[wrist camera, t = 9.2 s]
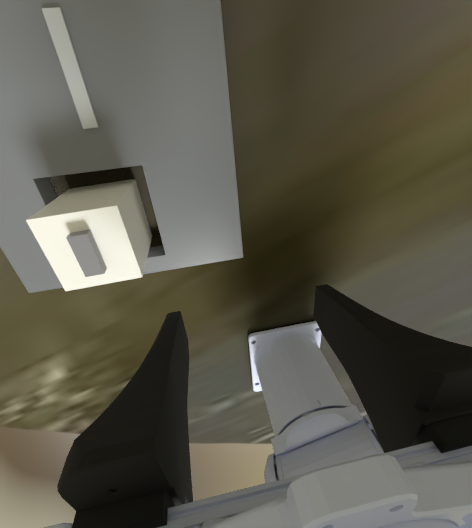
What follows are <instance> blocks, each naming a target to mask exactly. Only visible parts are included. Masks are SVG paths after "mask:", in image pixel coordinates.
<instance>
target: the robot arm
mask: <svg viewBox="0 0 472 528" xmlns="http://www.w3.org/2000/svg"><path fill="white" fill-rule="evenodd" d="M314 317H315V320H316V321H312V322H307V323H302V324H297V325H292V326H287V327H281V328H276V329H271V330H266V331H261V332H256V333H251V334H250V335H249V336H248V342H249V352H250V363H251V373H252V384H253V390H254V391H256V392H258V391H263V395H264V398H265V402H266V406H267V409H268V413H269V416H270V420H271V423H272V427H273V431H274V434H275V438H273V439H271V442H272V446H273V449H274V454H271V455H269V456H268V458H267V463H266V466H265V472H264V474H265V475H264V476H265V484H261V485H257V486H253V487H249V488H245V489H241V490H237V491H233V492H229V493H226V494H222V495H218V496H214V497H210V498H206V499H202V500H198V501H194V502H193V494H192V483H191V468H190V453H189V436H188V417H187V394H188V373H189V349H188V339H187V335H186V331H185V327H184V323H183V319H182V316H181V312H180V311H178V312H172V313H168V314H167V315H166V318H165V320H164V323H163V325H162V327H161V330H160V332H159V334H158V336H157V338H156V340H155V342H154V344H153V346H152V347H151V349H150V351H149V353H148V354H147V356H146V358H145V359H144V361H143V363H142V364H141V366H140V367H139V369H138V370H137V372H136V373H135V375H134V376H133V377H132V379H131V380H130V381H129V383H128V384H127V385H126V387H125V388H124V389H123V390H122V392H121V393H120V394H119V395H118V397H117V398H116V399H115V400H114V401H113V402H112V403H111V404H110V405H109V407H108V408H107V409H106V410H105V411H104V412H103V413H102V414H101V415H100V416H99V417H98V418H97V419H96V420H95V421H94V422H93V423H92V424H91V425H90V426H89V427H88V428H87V429H86V430H85V431H84V432H83V433H82V434H81V435H80V436H78V437H77V438H76V439H75V440H74V443H73V445H72V447H71V449H70V451H69V454H68V456H67V459H66V462H65V465H64V468H63V471H62V474H61V477H60V480H59V483H58V492H59V493H60V495H61V497H62V498H63V499H64V500H65V501H66V502H68V503H69V504H70V505H71V506H72V507H73V508H74V509H75V510H76V515H75V518H74V522H73V524H71V523H62V524H57V525H53V526H49V527H45V528H472V347H469V346H465V345H461V344H457V343H453V342H449V341H446V340H443V339H439V338H436V337H433V336H430V335H427V334H424V333H421V332H418V331H416V330H413V329H410V328H408V327H405V326H403V325H400V324H398V323H396V322H393V321H391V320H389V319H387V318H385V317H383V316H381V315H379V314H377V313H375V312H373V311H371V310H369V309H367V308H366V307H364V306H362V305H360V304H358V303H357V302H355V301H353V300H352V299H350V298H348V297H347V296H345V295H344V294H342V293H340V292H339V291H337V290H335V289H334V288H332V287H330V286H329V285H327V284H326V285H321V286H316V292H315V304H314ZM316 328H317V329H316ZM321 332H322V334H323V336H324V337H325V339H326V340H327V342H328V344H329V345H330V347H331V348H332V350H333V351H334V353H335V354H336V356H337V357H338V359H339V361H340V362H341V364H342V365H343V367H344V369H345V370H346V372H347V374H348V375H349V377H350V379H351V381H352V383H353V385H354V387H355V389H356V391H357V393H358V395H359V397H360V399H361V402H362V404H363V406H364V408H365V410H366V412H367V414H368V415H365V416H363V417H362V416H361V414H360V412H359V411H358V409H357V407H356V405H351V403H350V401H349V399H348V398H347V396H346V394H345V392H344V391H343V389H342V387H341V385H340V384H339V382H338V380H337V378H336V377H335V375H334V373H333V371H332V370H331V368H330V366H329V364H328V363H327V361H326V359H325V357H324V355H323V354H322V352H321V350H320V341H321Z"/></svg>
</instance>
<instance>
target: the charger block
mask: <svg viewBox="0 0 472 528" xmlns="http://www.w3.org/2000/svg"><path fill="white" fill-rule="evenodd" d="M26 222H27V223H28V225H29V227H30V229H31V231H32V232H33V234H34V236H35V238H36V240H37V241H38V243H39V245H40V247H41V248H42V250H43V252H44V254H45V256H46V257H47V259H48V261H49V263H50V265H51V266H52V268H53V270H54V272H55V274H56V275H57V277H58V279H59V281H60V283H61V284H62V286H63V288H64V290H65V291H70V290H75V289H81V288H86V287H92V286H97V285H102V284H108V283H113V282H119V281H124V280H130V279H135V278H140V277H143V273H144V269H145V265H146V260H147V256H148V252H149V248H150V244H151V239H152V233H151V230H150V226H149V223H148V220H147V217H146V213H145V210H144V207H143V203H142V200H141V197H140V193H139V190H138V187H137V183H136V180H135V179H131V180H124V181H117V182H111V183H104V184H98V185H91V186H84V187H78V188H71V189H69V190H67V191H66V192H64V193H63V194H62V195H60V196H59V197H57V198H56V199H55V200H53V201H52V202H50V203H49V204H48V205H46V206H45V207H43V208H42V209H40V210H39V211H38V212H36V213H35V214H33V215H32V216H31V217H29V218H28V219H26Z"/></svg>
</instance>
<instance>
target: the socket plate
mask: <svg viewBox="0 0 472 528" xmlns="http://www.w3.org/2000/svg"><path fill="white" fill-rule="evenodd" d="M140 165H142V166H143V170H144V174H145V178H146V182H147V186H148V189H149V193H150V197H151V201H152V205H153V209H154V212H155V216H156V220H157V224H158V228H159V232H160V235H161V239H162V243H163V245H161V246H154V247H150V248H149V252H148V256H147V260H146V265H145V269H144V273H143V274H147V273H153V272H159V271H165V270H171V269H177V268H183V267H189V266H195V265H201V264H207V263H213V262H219V261H225V260H231V259H238V258H243V249H242V237H241V226H240V215H239V203H238V192H237V181H236V169H235V158H234V147H233V135H232V124H231V113H230V101H229V90H228V79H227V67H226V56H225V45H224V34H223V22H222V11H221V0H0V247H1V249H2V250H3V252H4V253H5V255H6V257H7V258H8V260H9V262H10V263H11V265H12V266H13V268H14V270H15V271H16V273H17V275H18V276H19V278H20V279H21V281H22V283H23V284H24V286H25V288H26V289H27V291H28V292H29V293H32V292H38V291H44V290H50V289H56V288H62V287H63V286H62V284H61V283H60V281H59V279H58V277H57V275H56V274H55V272H54V270H53V268H52V266H51V265H50V263H49V261H48V259H47V257H46V256H45V254H44V252H43V250H42V248H41V247H40V245H39V243H38V241H37V240H36V238H35V236H34V234H33V232H32V231H31V229H30V227H29V225H28V223H27V222H26V219H28V218H29V217H31V216H32V215H33V214H35V213H36V212H38V211H39V210H40V209H42V208H43V207H45V206H46V205H48V204H49V203H50V202H52V201H53V200H55V199H56V198H57V196H56V194H55V191H54V189H53V187H52V185H51V182H50V180H49V178H48V177H53V176H60V175H68V174H76V173H84V172H92V171H100V170H108V169H116V168H124V167H132V166H140Z"/></svg>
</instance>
